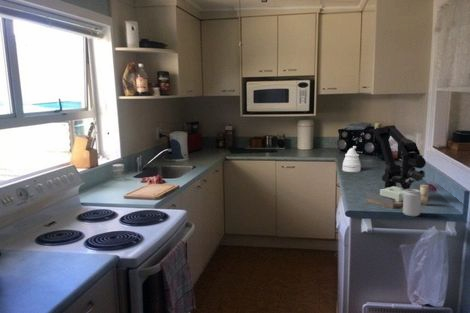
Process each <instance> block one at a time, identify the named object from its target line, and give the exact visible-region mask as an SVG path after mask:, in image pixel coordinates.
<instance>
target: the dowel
mask: <svg viewBox="0 0 470 313" xmlns="http://www.w3.org/2000/svg"><path fill="white" fill-rule="evenodd" d="M429 187H430V186H429V184H428V185H427V184H420V185H419V190H420V193H421V206H425V207H426V206H428V204H429V190H430V188H429Z"/></svg>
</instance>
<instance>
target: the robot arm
mask: <svg viewBox="0 0 470 313" xmlns="http://www.w3.org/2000/svg"><path fill="white" fill-rule="evenodd" d="M373 134H374V137H375V140H377V141H378V143H379V144H380V147H381V151H382V155H383V159H384V162H385V168H384V174H383V175H382V176H381V180H382V182H384V189H385V188H390V187H393V186H394V187H398V186H397V185H398V184H400V185H401V188H403V189H411V186H412V184H413V183H415V182H419V181H422V180H423V178H425V177H426V175H425V172H426V171H425V170H424V169H423V168H424V167H425V166H426V164H427V162H426V159H425V158H424V157H423V155H422V154H421V153H420V150H419V148H418V146H417V143H416V142H415V141H414V140H411V139H409V138H408V137H406V136H404V134H402V133H401V132H400V131H399V130H398V129H397V127H396V126H395V125H386V126H383V127H376V128H375V129H374V130H373ZM390 138H392V139H393V140H394V141H395V142H396V143H397V145H398V148H399V150H400V151H401V153H400V154H399V156H400V157H402V158H401V166H400V165H399V164H396V162H395V157H394V154H393V151H392V148H391V143H390ZM416 168H417V169H421V170H416Z"/></svg>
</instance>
